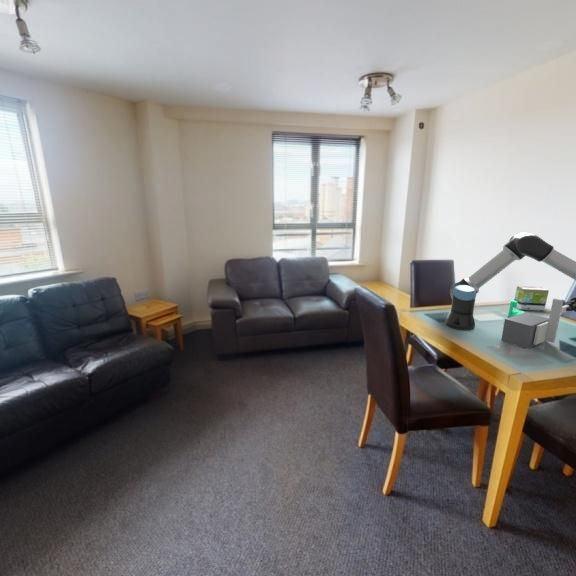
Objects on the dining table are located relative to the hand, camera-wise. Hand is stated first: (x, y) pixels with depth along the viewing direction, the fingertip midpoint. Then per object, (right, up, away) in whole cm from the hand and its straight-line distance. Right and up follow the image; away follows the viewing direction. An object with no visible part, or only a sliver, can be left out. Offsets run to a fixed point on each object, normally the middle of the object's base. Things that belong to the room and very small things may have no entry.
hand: (561, 309), depth 158 cm
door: (-7, -17, +2) cm, 19 cm away
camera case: (-12, -17, +10) cm, 23 cm away
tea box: (+31, -3, +62) cm, 69 cm away
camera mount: (+11, -8, +46) cm, 48 cm away
